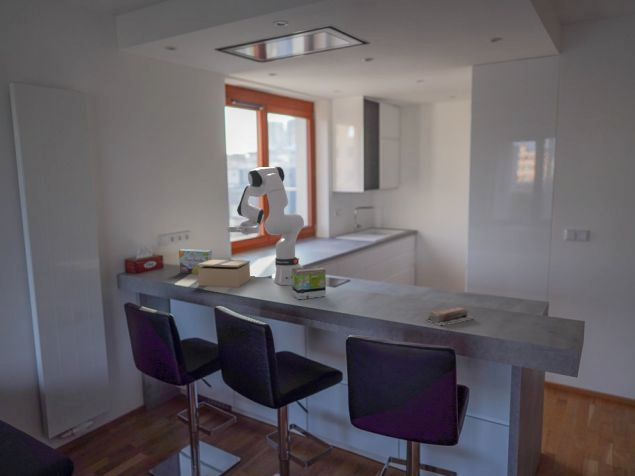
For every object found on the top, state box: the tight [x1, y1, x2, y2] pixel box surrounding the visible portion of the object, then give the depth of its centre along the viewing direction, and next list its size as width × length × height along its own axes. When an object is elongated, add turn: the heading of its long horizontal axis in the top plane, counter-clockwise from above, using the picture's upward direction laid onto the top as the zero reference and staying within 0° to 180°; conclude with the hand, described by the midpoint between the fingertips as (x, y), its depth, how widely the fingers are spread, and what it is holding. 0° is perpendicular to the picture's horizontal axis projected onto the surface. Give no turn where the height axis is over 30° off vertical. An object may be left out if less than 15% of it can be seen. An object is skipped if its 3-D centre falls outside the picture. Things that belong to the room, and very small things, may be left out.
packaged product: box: [425, 306, 474, 325], centre depth 201 cm, size 18×5×10 cm
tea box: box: [291, 265, 327, 300], centre depth 240 cm, size 15×10×15 cm
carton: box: [197, 263, 251, 288], centre depth 273 cm, size 24×18×10 cm
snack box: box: [178, 248, 213, 275], centre depth 299 cm, size 21×6×15 cm, turn 73°
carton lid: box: [198, 259, 251, 267], centre depth 272 cm, size 24×19×1 cm
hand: (238, 230), depth 292 cm, fingers closed
